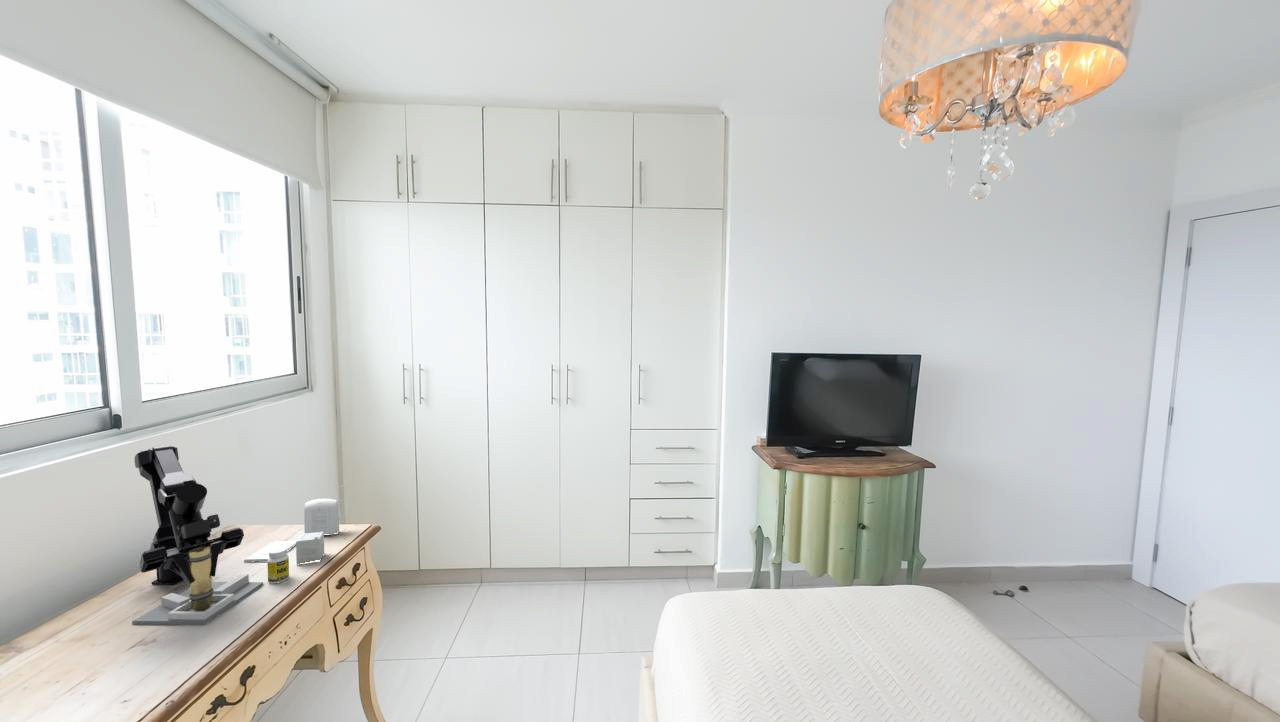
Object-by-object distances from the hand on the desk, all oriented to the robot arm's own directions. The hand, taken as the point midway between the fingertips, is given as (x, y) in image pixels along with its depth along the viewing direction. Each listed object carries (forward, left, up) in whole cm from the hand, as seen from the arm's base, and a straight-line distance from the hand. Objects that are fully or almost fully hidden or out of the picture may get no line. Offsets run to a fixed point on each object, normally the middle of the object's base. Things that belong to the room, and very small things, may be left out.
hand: (202, 579), depth 119 cm
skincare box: (+7, +29, -9) cm, 31 cm away
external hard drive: (-8, +33, -10) cm, 35 cm away
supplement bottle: (+6, +17, -9) cm, 20 cm away
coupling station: (-5, +5, -9) cm, 11 cm away
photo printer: (-1, +47, -9) cm, 48 cm away
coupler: (-1, +1, -7) cm, 7 cm away
